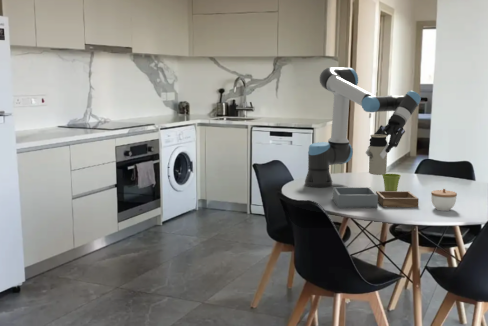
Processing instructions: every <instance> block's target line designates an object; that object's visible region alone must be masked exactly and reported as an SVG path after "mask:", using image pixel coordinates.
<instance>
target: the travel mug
mask: <svg viewBox="0 0 488 326" xmlns="http://www.w3.org/2000/svg"><path fill="white" fill-rule="evenodd" d="M387 137H388V136H387V135H381V134H375V133H374V134H370V138H371V141H369V146H370V148H369V156H368V173H369V174H370V175H375V176H382V175H383V174H387V163H388V162H387V161H388V153H387V154H386V156H385V157H384V159H382V158H381V156H380V154H381V152H382V151H383V149H384V148H385V146H386V145H387V144H388V141H387Z"/></svg>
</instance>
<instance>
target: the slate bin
mask: <svg viewBox="0 0 488 326" xmlns="http://www.w3.org/2000/svg"><path fill="white" fill-rule="evenodd" d="M332 200H333V202H334V204H335V206H336V207H337V209H378V206H379V205H378V204H379V202H378V195H377V194H376V191H374V190H373V189H372V188H371V187H369V186H363V187H361V186H358V187H355V186H354V187H353V186H352V187H351V186H347V187H345V186H343V187H341V186H338V187H337V186H336V187H335V186H334V187H332Z"/></svg>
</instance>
